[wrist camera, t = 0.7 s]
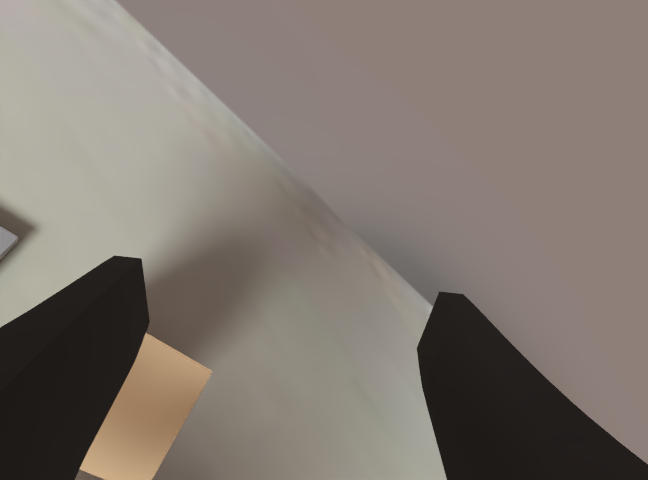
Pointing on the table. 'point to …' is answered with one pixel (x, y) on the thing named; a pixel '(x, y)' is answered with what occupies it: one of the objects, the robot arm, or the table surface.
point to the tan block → (146, 413)
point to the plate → (6, 242)
